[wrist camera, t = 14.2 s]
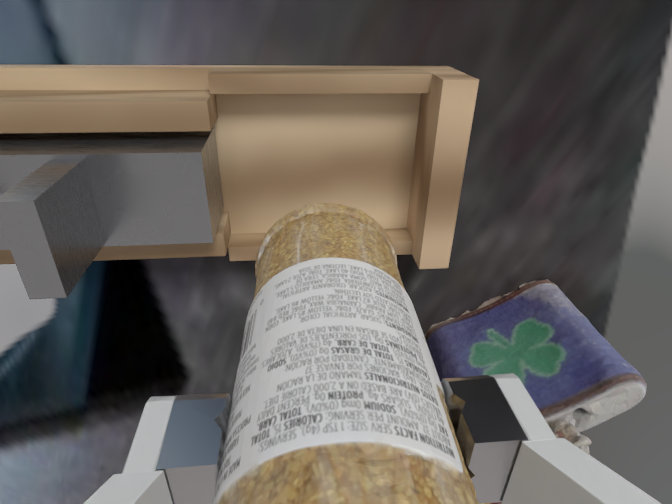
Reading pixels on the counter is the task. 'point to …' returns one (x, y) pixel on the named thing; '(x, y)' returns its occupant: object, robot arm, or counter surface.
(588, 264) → the counter surface
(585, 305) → the counter surface
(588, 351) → the flask
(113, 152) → the sliding block with knob
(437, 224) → the guide rail
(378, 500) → the sprinkles bottle
